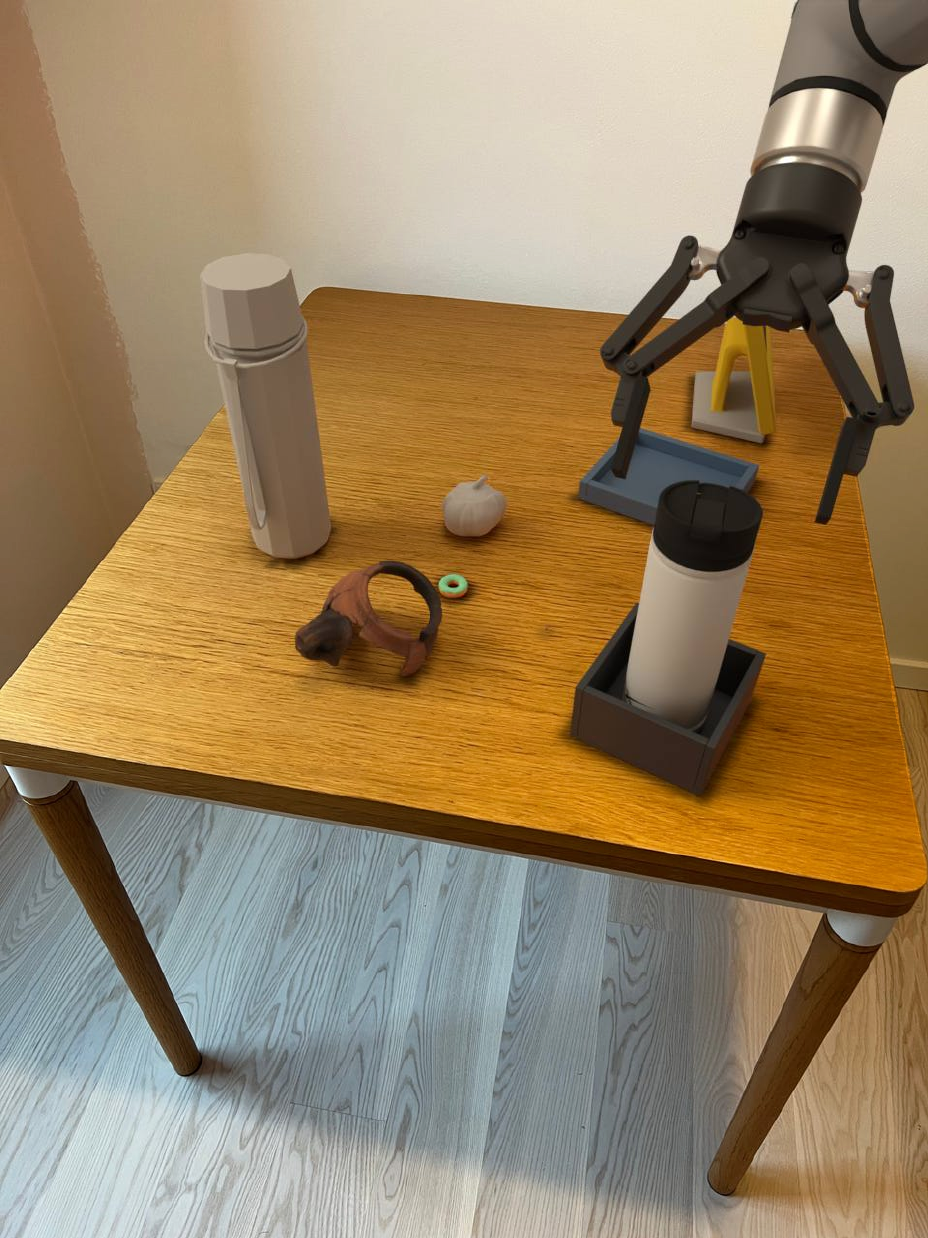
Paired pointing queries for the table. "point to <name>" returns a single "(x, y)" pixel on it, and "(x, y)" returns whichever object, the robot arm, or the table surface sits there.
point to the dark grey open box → (650, 736)
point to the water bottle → (268, 399)
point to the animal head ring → (369, 619)
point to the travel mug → (690, 598)
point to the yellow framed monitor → (738, 386)
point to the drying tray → (660, 474)
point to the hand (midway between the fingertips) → (716, 497)
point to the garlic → (473, 508)
